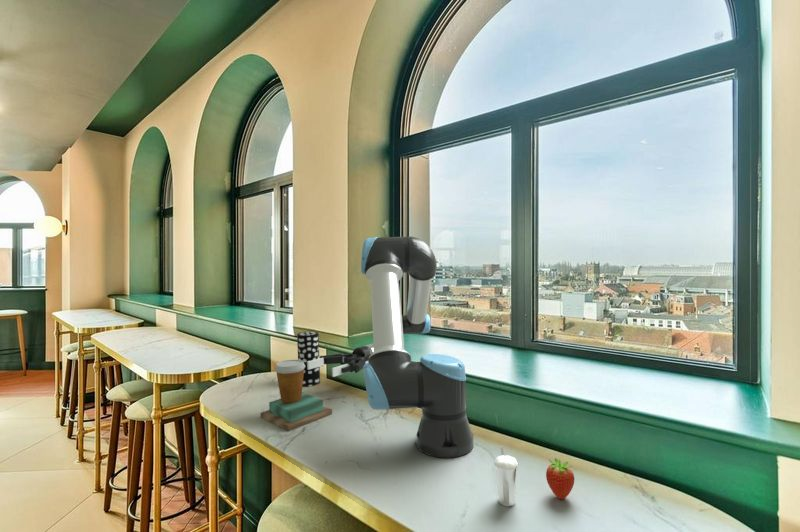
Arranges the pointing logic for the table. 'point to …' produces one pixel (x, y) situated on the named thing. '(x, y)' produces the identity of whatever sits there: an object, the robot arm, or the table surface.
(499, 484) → the milkshake
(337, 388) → the table surface
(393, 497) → the table surface
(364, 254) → the robot arm
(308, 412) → the display stand
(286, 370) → the disposable coffee cup
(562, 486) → the fruit
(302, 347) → the white-spotted black cylinder
